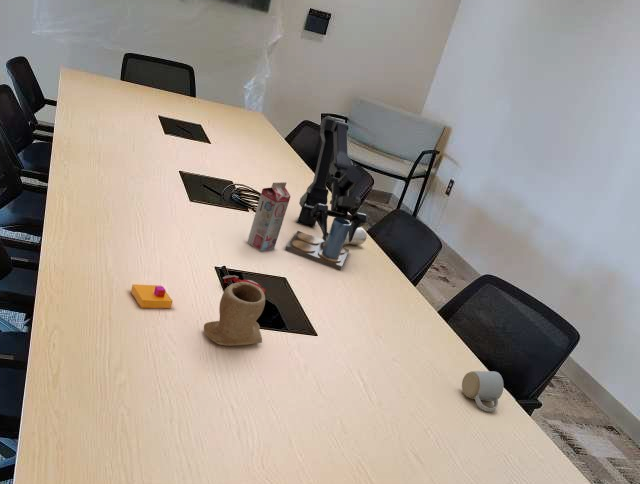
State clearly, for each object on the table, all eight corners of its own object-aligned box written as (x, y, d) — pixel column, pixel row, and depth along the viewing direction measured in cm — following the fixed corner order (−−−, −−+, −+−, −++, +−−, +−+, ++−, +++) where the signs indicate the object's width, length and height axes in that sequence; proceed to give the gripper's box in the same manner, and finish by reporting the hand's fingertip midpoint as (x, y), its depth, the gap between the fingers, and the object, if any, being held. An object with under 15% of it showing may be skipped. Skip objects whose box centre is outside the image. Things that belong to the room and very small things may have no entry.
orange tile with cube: (140, 307, 165) (144, 292, 163) (130, 292, 170) (133, 277, 168) (170, 308, 169) (174, 293, 167) (159, 293, 175) (163, 278, 172)
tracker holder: (257, 281, 196) (274, 290, 188) (251, 295, 197) (268, 305, 189) (222, 269, 189) (239, 278, 181) (217, 284, 190) (233, 293, 182)
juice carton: (273, 249, 225) (293, 186, 214) (261, 251, 221) (280, 186, 209) (260, 240, 228) (278, 178, 217) (247, 242, 224) (265, 178, 212)
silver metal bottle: (369, 243, 252) (334, 244, 239) (355, 246, 257) (320, 247, 244) (368, 226, 251) (332, 226, 238) (354, 229, 256) (318, 229, 243)
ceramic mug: (455, 387, 177) (468, 363, 173) (480, 389, 180) (493, 366, 176) (476, 412, 169) (490, 387, 165) (501, 414, 172) (516, 390, 168)
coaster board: (285, 249, 228) (286, 244, 227) (296, 234, 245) (298, 229, 244) (340, 270, 226) (342, 265, 226) (348, 253, 244) (349, 248, 243)
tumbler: (318, 253, 229) (330, 218, 223) (327, 250, 234) (339, 216, 227) (333, 260, 227) (345, 226, 221) (341, 257, 232) (354, 224, 225)
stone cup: (217, 354, 157) (233, 298, 149) (197, 327, 165) (211, 273, 157) (271, 352, 165) (289, 299, 157) (249, 327, 173) (266, 275, 165)
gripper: (324, 179, 219) (322, 223, 216) (375, 191, 224) (374, 235, 221) (311, 194, 229) (308, 237, 226) (360, 206, 235) (358, 247, 231)
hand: (337, 238), depth 226 cm, fingers open, 9 cm apart
